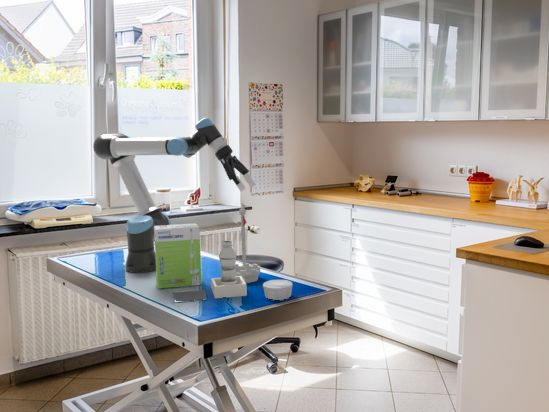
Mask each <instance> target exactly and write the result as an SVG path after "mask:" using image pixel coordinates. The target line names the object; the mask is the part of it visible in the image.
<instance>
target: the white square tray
mask: <svg viewBox="0 0 549 412" xmlns="http://www.w3.org/2000/svg"><path fill="white" fill-rule="evenodd" d="M210 279H211V280H210V281H211V283H210V284H211V291H212V294H213V297H214V299H224V298H223V297H226V298H235V297H246V296H248V295H247V294H248V293H247V290H248V289H247V287H248V286H247V283H245V281H244V279H243V278H242V276H236V281H237V284H233V285H221V286H220V281H221V277H213V278H210Z"/></svg>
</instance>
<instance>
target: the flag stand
mask: <svg viewBox="0 0 549 412" xmlns="http://www.w3.org/2000/svg"><path fill="white" fill-rule="evenodd" d="M238 213H239V215H240V224H241V225H240V227H241V229H240V230H241V252H242V254H241V255H242V258H241V259H242V265H240V266H239V263H235V275H236V276H242V278H243V279H244V281H245V283H246V284H248V283H253V282H254V283H255V282H257V281H258V280H259V274H260V273H261V265H259V264H258V263H253V264H252V265H250V263H249V262H247V250H246V248H247V247H246V246H247V245H246V224H247V220H246V217H245V215H246V214H247V209H245V208H244V207H241V208H240V209H239V210H238Z"/></svg>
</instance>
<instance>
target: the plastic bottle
mask: <svg viewBox="0 0 549 412" xmlns="http://www.w3.org/2000/svg"><path fill="white" fill-rule="evenodd" d="M221 247H222V248H221V250H220V252H219V254H218V257H219V264H220V278H221V281H220V286H221V285H233V284H237V281H236V275H235V264H237V263H236V261H237V260H236V259H237V254H236V251H235V250H234V248H233V241H232V240H223V241H221Z"/></svg>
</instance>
